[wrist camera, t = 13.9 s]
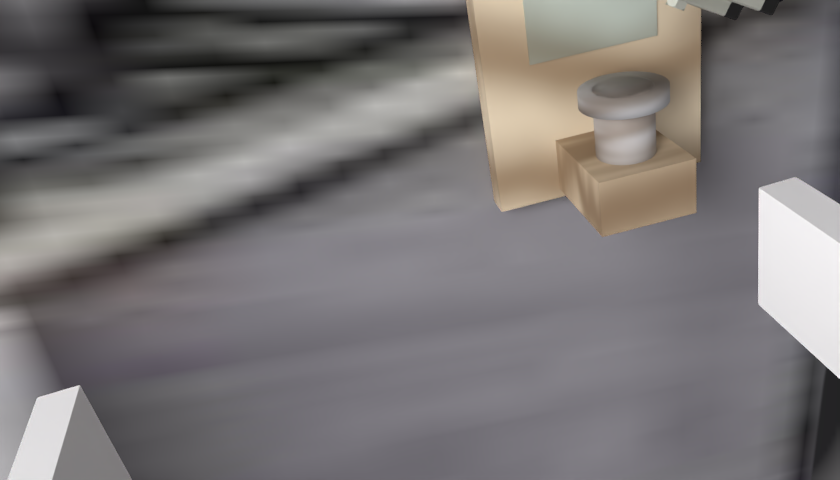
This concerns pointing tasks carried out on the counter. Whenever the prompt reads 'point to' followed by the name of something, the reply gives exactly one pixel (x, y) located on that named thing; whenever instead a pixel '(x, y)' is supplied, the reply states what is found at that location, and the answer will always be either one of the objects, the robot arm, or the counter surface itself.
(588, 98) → the pipe stand
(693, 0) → the pneumatic valve
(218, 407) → the counter surface
